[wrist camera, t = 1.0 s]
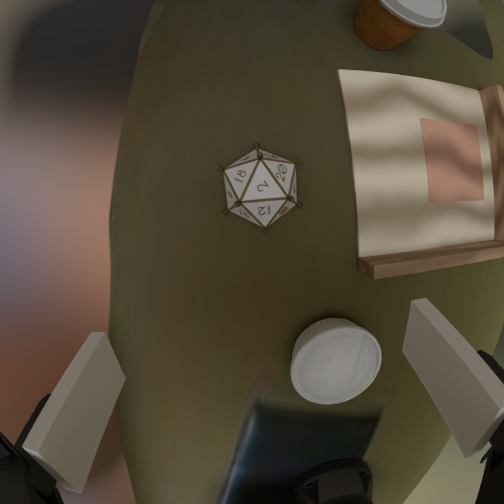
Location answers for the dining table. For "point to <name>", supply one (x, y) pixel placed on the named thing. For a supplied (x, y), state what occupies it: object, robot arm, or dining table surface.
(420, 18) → the disposable coffee cup
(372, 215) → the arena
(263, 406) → the dining table surface
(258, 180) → the game die
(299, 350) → the ramekin
